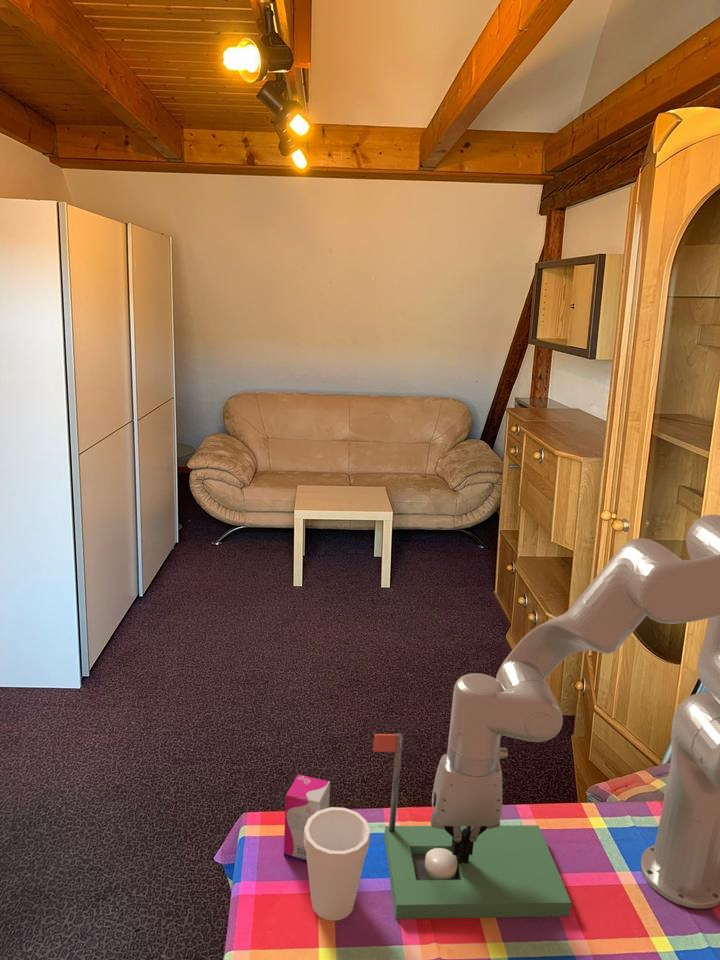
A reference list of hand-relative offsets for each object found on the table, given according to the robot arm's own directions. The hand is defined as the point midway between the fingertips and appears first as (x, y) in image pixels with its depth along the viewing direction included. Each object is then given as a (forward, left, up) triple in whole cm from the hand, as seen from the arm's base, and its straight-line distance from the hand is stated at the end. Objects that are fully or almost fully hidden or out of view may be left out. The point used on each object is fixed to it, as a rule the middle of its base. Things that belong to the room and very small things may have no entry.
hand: (461, 856), depth 117 cm
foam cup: (+20, +5, -4) cm, 21 cm away
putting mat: (0, 0, -4) cm, 4 cm away
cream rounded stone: (+3, 0, -3) cm, 4 cm away
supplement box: (+24, -6, -4) cm, 25 cm away
